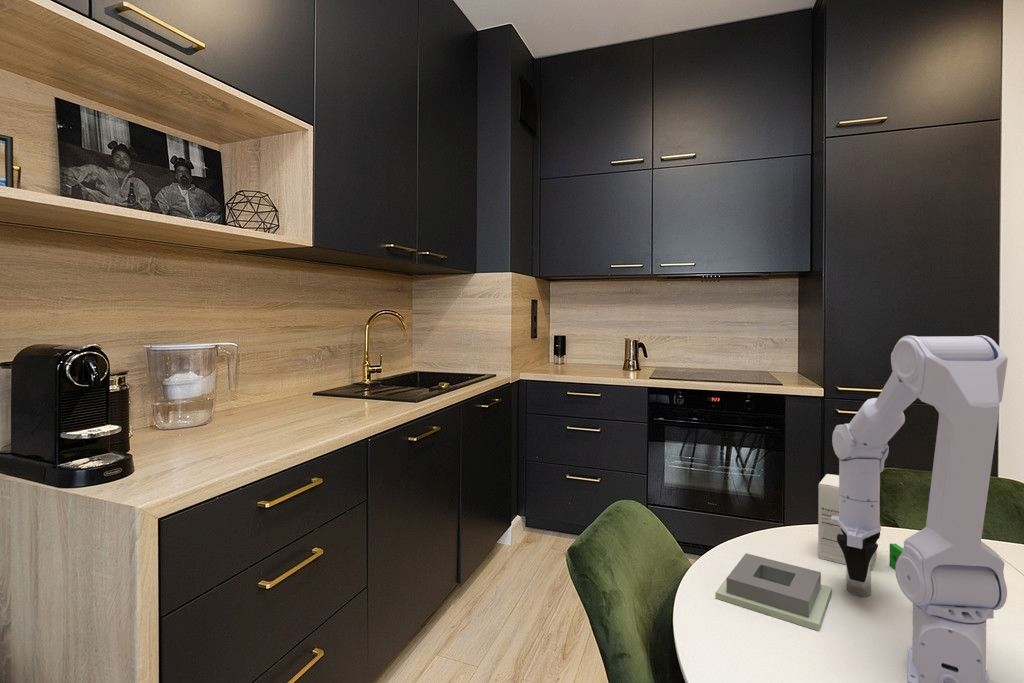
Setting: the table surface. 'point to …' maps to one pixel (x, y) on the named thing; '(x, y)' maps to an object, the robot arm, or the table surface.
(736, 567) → the dock
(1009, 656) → the table surface
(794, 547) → the table surface
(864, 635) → the table surface
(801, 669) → the table surface
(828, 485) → the supplement box
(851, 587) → the silver metal cylinder
